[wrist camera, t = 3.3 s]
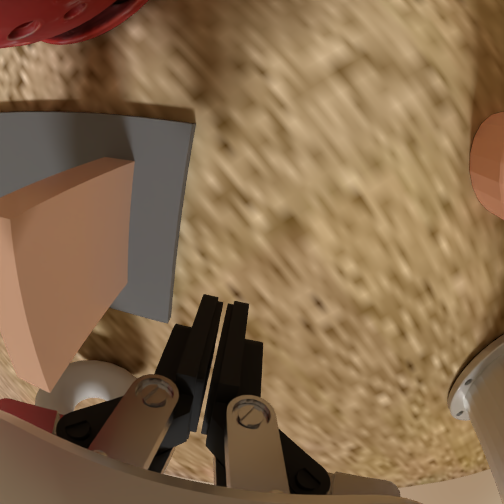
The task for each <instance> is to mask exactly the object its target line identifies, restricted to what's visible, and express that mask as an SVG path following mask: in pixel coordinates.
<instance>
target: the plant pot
mask: <svg viewBox="0 0 504 504" xmlns="http://www.w3.org/2000/svg"><path fill="white" fill-rule="evenodd" d="M148 1H149V0H0V48H7V47H14V46H22V45H27V44H32V43H35V42H39V41H43V42H46V43H50V44H57V45H64V44H73V43H78V42H83V41H86V40H89V39H92V38H94V37H97V36H99V35H101V34H104V33H105V32H107V31H109V30H111V29H113V28H114V27H116V26H118V25H119V24H121V23H122V22H124V21H125V20H126V19H128V18H129V17H130V16H132V15H133V14H134V13H136V12H137V11H138V10H139V9H140V8H141V7H142V6H143V5H144V4H146V3H147V2H148Z"/></svg>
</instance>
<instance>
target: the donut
mask: <svg viewBox="0 0 504 504" xmlns="http://www.w3.org/2000/svg"><path fill="white" fill-rule="evenodd" d="M136 379H137V378H136V377H135V376H133V375H132V374H131V373H130V372H128V371H127V370H126V369H124V368H121V367H119V366H117V365H115V364H112V363H108V362H103V361H98V360H84V361H77V362H73V363H69V365H68V366H67V368H66V369H65V371H64V373H63V374H62V376H61V377H60V379H59V380H58V382H57V383H56V385H55V386H54V388H53V389H52V391H51V393H49V392H46V391H44V390H42V389H39V391H38V393H37V395H36V401H35V406H39V407H43V408H47V409H52V410H56V411H58V413H59V414H62V415H65V414H68V413H70V412H73V410H74V407H75V406H76V405H77V403H79V402H80V401H82V400H84V399H87V398H101V399H104V400H106V401H109V400H112V399H115V398H118V397H121V396H124V395H125V393H126V392H127V390H128V389H129V387H130V386H131V384H132V383H133V382H134V381H135V380H136Z"/></svg>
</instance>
